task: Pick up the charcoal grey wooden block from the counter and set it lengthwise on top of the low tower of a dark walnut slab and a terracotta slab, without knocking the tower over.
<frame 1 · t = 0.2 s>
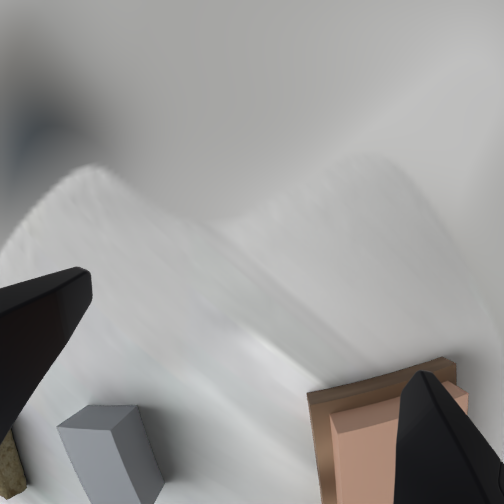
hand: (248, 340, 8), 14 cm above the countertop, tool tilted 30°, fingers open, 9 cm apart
base slab: (381, 451, 21), on the countertop, touching top slab
top slab: (393, 469, 18), point 2 cm above the countertop, touching base slab
charcoal block: (125, 445, 22), on the countertop
stone block: (5, 442, 23), on the countertop
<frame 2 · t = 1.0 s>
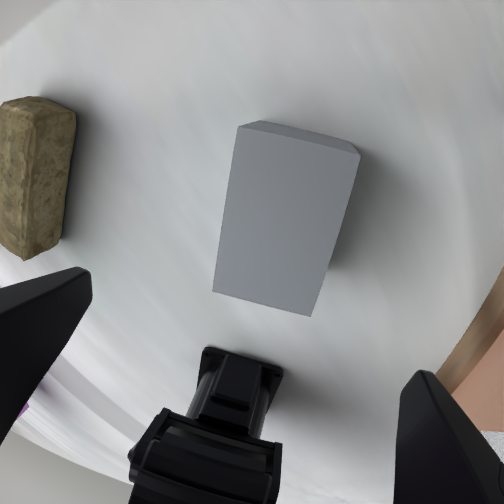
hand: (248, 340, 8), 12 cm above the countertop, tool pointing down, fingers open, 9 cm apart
charcoal block: (289, 197, 18), on the countertop
stone block: (49, 168, 21), on the countertop
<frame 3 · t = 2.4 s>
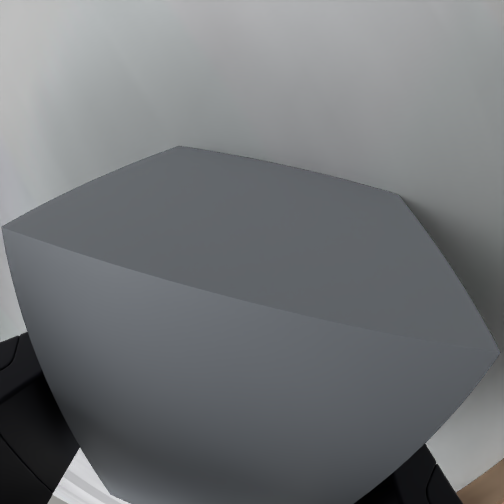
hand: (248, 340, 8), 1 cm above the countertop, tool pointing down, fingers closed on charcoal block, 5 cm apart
charcoal block: (256, 313, 9), on the countertop, touching gripper
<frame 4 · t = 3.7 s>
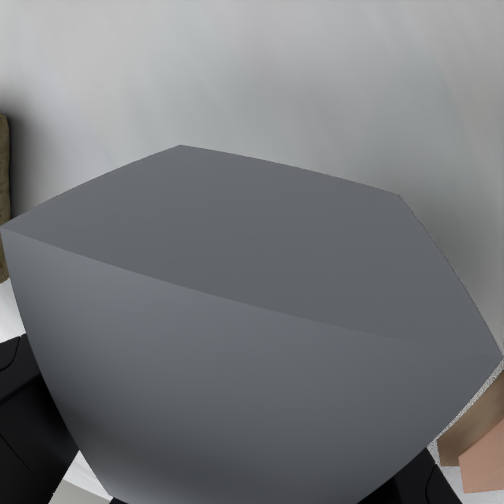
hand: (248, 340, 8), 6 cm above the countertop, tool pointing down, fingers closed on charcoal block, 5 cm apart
charcoal block: (256, 314, 9), point 5 cm above the countertop, touching gripper
when the fingers open (8 cm above the countertop, at t = 6.8 s): charcoal block drops 1 cm, point 5 cm above the countertop.
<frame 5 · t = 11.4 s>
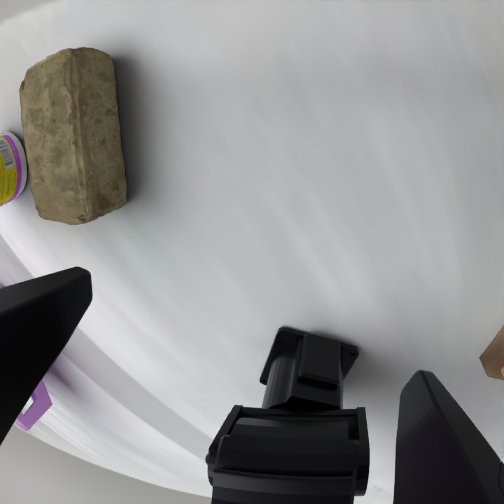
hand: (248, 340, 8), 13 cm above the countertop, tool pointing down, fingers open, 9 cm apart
supplement bottle: (11, 163, 23), on the countertop
stone block: (95, 131, 20), on the countertop
teakettle: (15, 327, 34), on the countertop
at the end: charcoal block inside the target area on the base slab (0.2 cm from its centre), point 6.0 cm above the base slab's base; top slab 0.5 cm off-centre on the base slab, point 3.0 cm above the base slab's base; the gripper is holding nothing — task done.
